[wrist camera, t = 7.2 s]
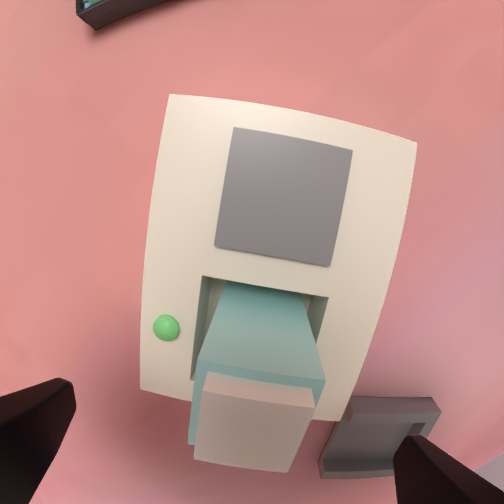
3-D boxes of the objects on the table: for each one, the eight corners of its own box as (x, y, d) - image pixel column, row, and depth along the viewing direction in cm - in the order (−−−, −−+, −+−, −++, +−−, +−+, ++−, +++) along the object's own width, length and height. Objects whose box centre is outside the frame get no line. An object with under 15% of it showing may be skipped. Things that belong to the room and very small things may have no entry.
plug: (298, 288, 14) (331, 399, 7) (283, 349, 15) (294, 479, 7) (228, 275, 14) (190, 377, 7) (218, 337, 15) (181, 462, 7)
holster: (431, 397, 16) (441, 411, 14) (395, 459, 17) (401, 474, 16) (347, 395, 16) (353, 413, 15) (317, 461, 17) (320, 478, 16)
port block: (384, 150, 13) (421, 141, 10) (327, 379, 16) (341, 425, 12) (191, 113, 13) (167, 91, 10) (161, 351, 16) (137, 392, 12)
